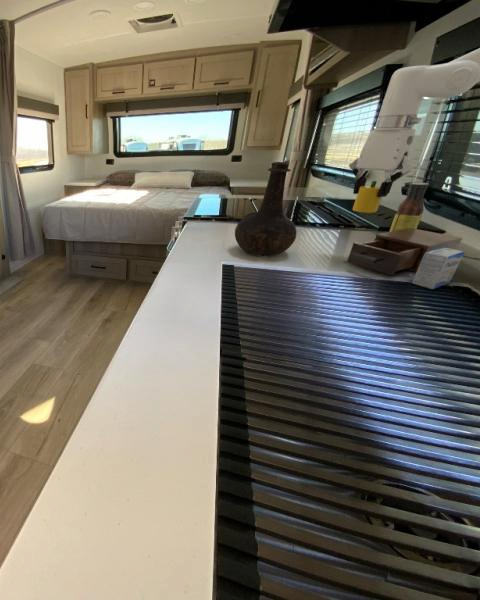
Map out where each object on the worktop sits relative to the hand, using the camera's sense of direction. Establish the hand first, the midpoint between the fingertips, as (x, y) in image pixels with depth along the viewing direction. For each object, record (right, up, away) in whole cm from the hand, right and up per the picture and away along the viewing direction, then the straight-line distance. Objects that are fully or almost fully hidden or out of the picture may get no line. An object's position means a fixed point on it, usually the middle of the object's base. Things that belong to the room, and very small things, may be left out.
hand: (369, 194), depth 95 cm
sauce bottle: (+24, -12, +17) cm, 32 cm away
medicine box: (+7, -26, -10) cm, 29 cm away
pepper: (0, -4, +2) cm, 5 cm away
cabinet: (+15, -19, +4) cm, 24 cm away
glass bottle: (-23, -14, +16) cm, 31 cm away
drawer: (+3, -20, 0) cm, 21 cm away
